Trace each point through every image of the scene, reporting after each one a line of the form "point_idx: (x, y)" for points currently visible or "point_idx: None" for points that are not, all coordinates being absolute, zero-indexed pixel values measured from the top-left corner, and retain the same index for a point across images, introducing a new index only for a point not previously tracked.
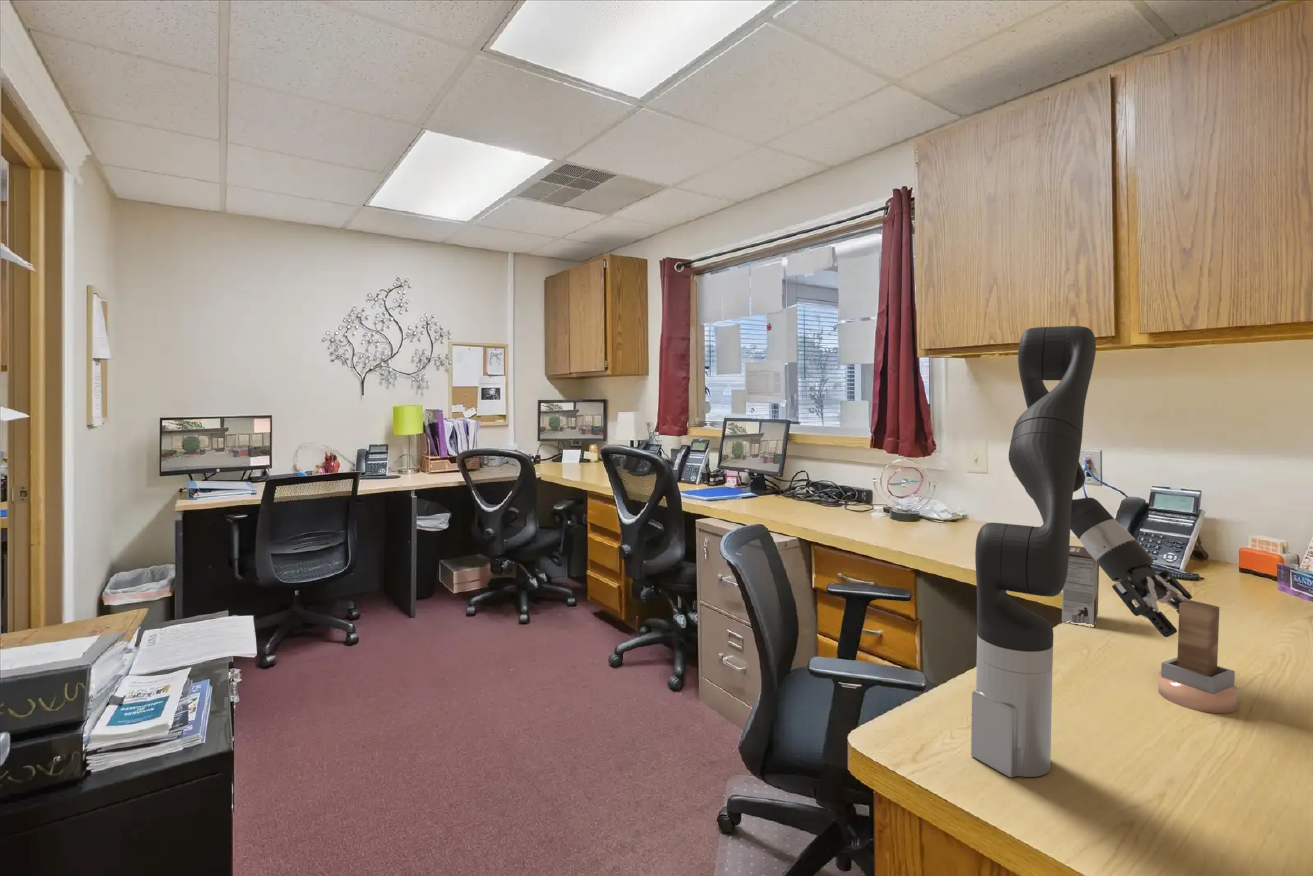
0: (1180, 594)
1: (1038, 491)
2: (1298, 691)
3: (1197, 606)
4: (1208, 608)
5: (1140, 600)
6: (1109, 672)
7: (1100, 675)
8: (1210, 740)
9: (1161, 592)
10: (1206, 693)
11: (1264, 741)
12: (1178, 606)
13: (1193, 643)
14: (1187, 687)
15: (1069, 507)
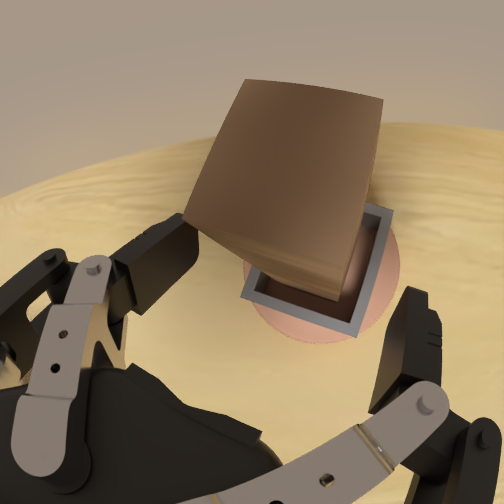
0: (71, 290)
1: None
2: (156, 152)
3: (345, 152)
4: (339, 102)
5: (488, 482)
6: (283, 435)
7: (317, 446)
8: (499, 226)
9: (163, 407)
10: (393, 235)
11: (437, 162)
12: (126, 304)
13: (355, 241)
14: (385, 273)
15: None
